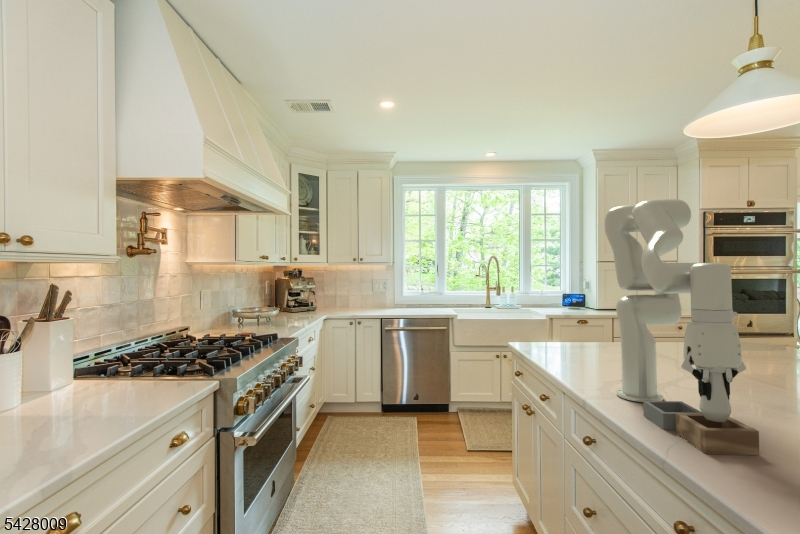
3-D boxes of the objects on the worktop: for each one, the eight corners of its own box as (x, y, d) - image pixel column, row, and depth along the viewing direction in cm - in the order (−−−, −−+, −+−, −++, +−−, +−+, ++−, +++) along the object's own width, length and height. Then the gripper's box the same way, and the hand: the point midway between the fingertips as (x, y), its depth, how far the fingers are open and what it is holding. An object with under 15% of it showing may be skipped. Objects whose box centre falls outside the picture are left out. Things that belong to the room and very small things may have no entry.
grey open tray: (643, 415, 112) (643, 401, 112) (681, 416, 111) (681, 401, 111) (663, 429, 102) (663, 413, 102) (705, 430, 101) (705, 413, 101)
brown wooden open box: (676, 434, 99) (675, 413, 99) (724, 434, 98) (723, 413, 98) (705, 454, 88) (704, 430, 88) (759, 455, 87) (758, 431, 87)
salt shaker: (718, 414, 96) (716, 358, 96) (738, 423, 90) (736, 363, 90) (693, 414, 96) (691, 358, 96) (712, 423, 90) (710, 364, 90)
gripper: (738, 315, 97) (740, 394, 96) (664, 315, 98) (666, 393, 98) (763, 318, 89) (766, 404, 89) (683, 319, 90) (685, 403, 90)
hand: (714, 397), depth 93 cm, fingers closed on salt shaker, 3 cm apart
